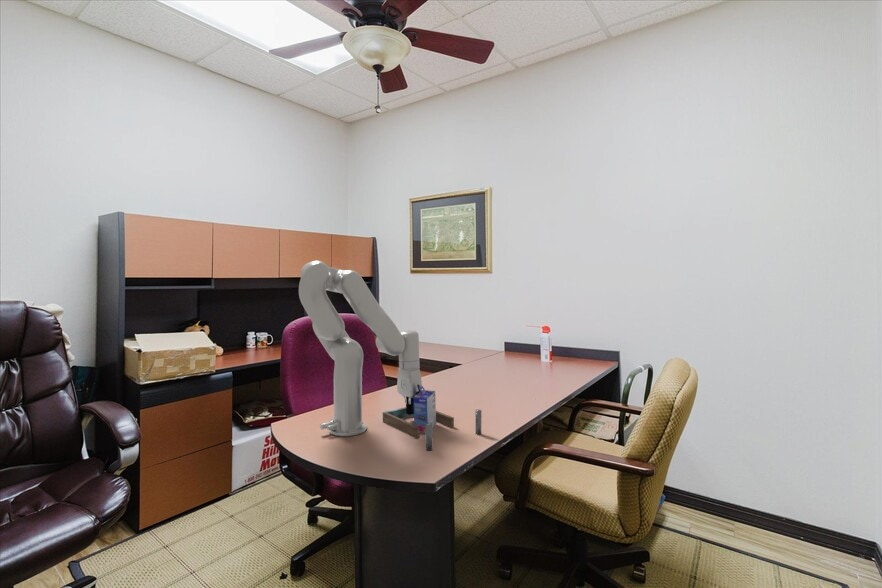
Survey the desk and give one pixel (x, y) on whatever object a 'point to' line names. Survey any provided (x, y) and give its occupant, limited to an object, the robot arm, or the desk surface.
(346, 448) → the desk surface
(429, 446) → the post left
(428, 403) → the ink cartridge box
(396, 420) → the channel
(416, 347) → the robot arm
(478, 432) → the post right
